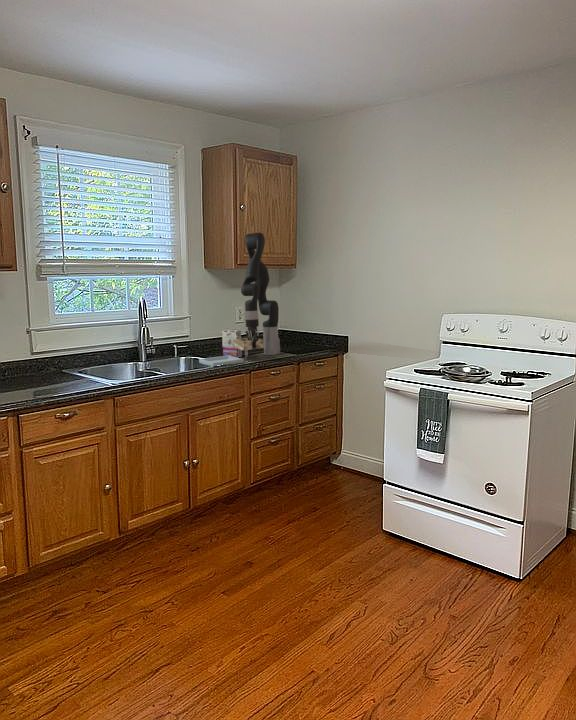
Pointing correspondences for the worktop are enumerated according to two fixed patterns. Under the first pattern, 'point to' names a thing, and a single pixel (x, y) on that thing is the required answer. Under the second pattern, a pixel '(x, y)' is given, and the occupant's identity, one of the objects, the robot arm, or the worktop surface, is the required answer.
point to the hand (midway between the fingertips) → (253, 348)
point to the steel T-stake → (246, 354)
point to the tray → (220, 360)
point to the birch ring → (247, 344)
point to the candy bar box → (230, 343)
